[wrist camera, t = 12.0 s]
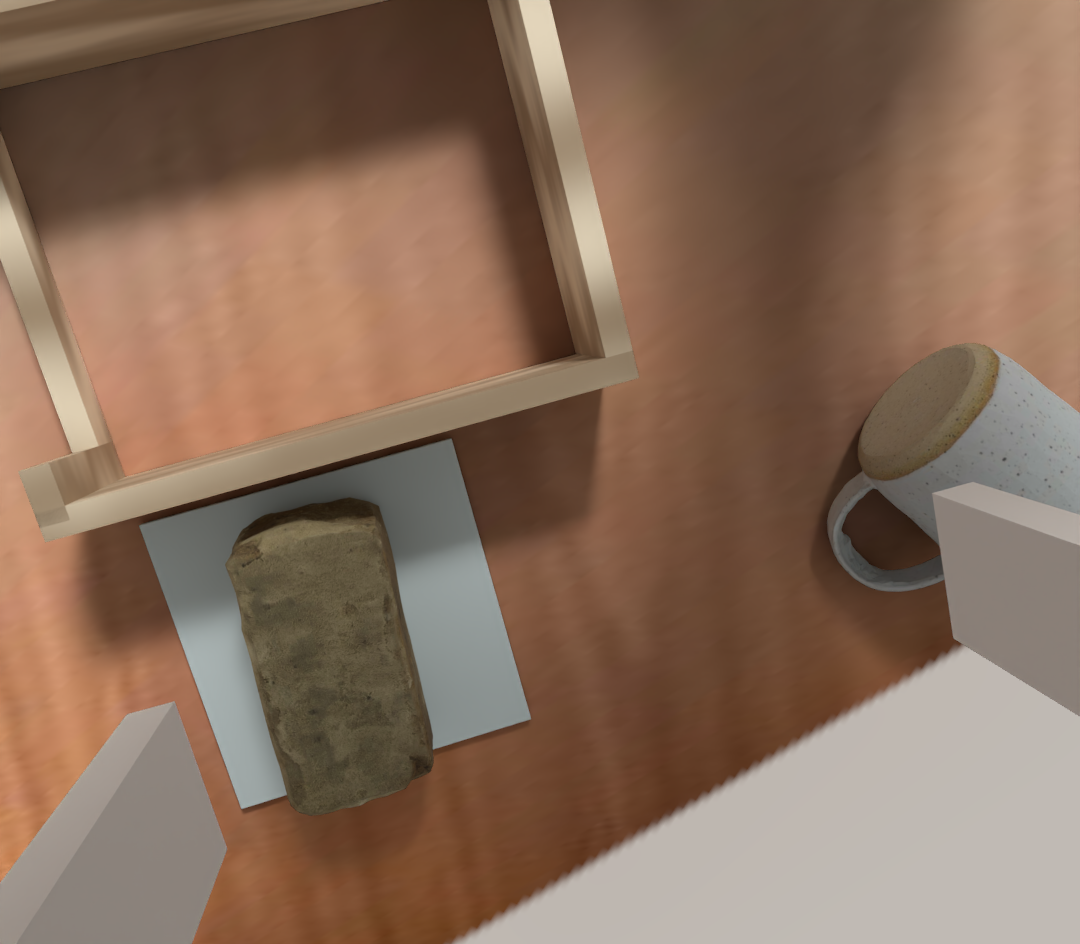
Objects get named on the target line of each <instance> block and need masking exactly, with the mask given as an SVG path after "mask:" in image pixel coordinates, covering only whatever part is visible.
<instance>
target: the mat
mask: <svg viewBox="0 0 1080 944" xmlns="http://www.w3.org/2000/svg"><path fill="white" fill-rule="evenodd" d="M349 497H350V498H355V499H360V500H364V501H369V502H371V503H373V504H376V505H378V506H379V508H380V511H381V514H382V518H383V521H384V524H385V527H386V530H387V533H388V537H389V541H390V545H391V549H392V553H393V558H394V562H395V566H396V573H397V579H398V585H399V591H400V597H401V603H402V607H403V612H404V616H405V620H406V624H407V628H408V631H409V635H410V639H411V643H412V647H413V652H414V656H415V660H416V663H417V668H418V672H419V676H420V681H421V685H422V690H423V694H424V698H425V702H426V706H427V710H428V715H429V719H430V723H431V728H432V733H433V749H436V748H440V747H443V746H446V745H449V744H453V743H456V742H459V741H462V740H465V739H469V738H472V737H475V736H478V735H482V734H485V733H488V732H491V731H494V730H498V729H501V728H504V727H507V726H510V725H514V724H517V723H520V722H523V721H527V720H530V719H531V717H530V713H529V709H528V706H527V702H526V699H525V695H524V692H523V688H522V685H521V681H520V678H519V674H518V671H517V667H516V664H515V660H514V657H513V653H512V650H511V646H510V643H509V639H508V636H507V632H506V628H505V625H504V621H503V618H502V614H501V611H500V607H499V604H498V600H497V597H496V593H495V590H494V586H493V583H492V579H491V576H490V572H489V569H488V565H487V562H486V558H485V554H484V551H483V547H482V544H481V540H480V537H479V533H478V530H477V526H476V523H475V519H474V516H473V512H472V509H471V505H470V502H469V498H468V495H467V491H466V488H465V484H464V481H463V477H462V473H461V470H460V466H459V463H458V459H457V456H456V452H455V449H454V445H453V442H452V438H449V439H445V440H441V441H438V442H434V443H431V444H427V445H423V446H420V447H416V448H413V449H409V450H405V451H402V452H398V453H395V454H391V455H387V456H384V457H380V458H377V459H373V460H369V461H366V462H362V463H359V464H355V465H351V466H348V467H344V468H341V469H337V470H333V471H330V472H326V473H323V474H319V475H315V476H312V477H308V478H305V479H301V480H297V481H294V482H290V483H287V484H283V485H279V486H276V487H272V488H269V489H265V490H261V491H258V492H254V493H251V494H247V495H243V496H240V497H236V498H233V499H229V500H225V501H222V502H218V503H215V504H211V505H207V506H204V507H200V508H197V509H193V510H189V511H186V512H182V513H179V514H175V515H171V516H168V517H164V518H161V519H157V520H153V521H150V522H146V523H143V524H141V525H139V527H140V530H141V533H142V535H143V538H144V541H145V544H146V546H147V549H148V552H149V555H150V558H151V560H152V563H153V566H154V569H155V571H156V574H157V577H158V580H159V582H160V585H161V588H162V591H163V593H164V596H165V599H166V602H167V604H168V607H169V610H170V613H171V616H172V618H173V621H174V624H175V627H176V629H177V632H178V635H179V638H180V640H181V643H182V646H183V649H184V651H185V654H186V657H187V660H188V663H189V665H190V668H191V671H192V674H193V676H194V679H195V682H196V685H197V687H198V690H199V693H200V696H201V698H202V701H203V704H204V707H205V710H206V712H207V715H208V718H209V721H210V723H211V726H212V729H213V732H214V734H215V737H216V740H217V743H218V745H219V748H220V751H221V754H222V756H223V759H224V762H225V765H226V768H227V770H228V773H229V776H230V779H231V781H232V784H233V787H234V790H235V792H236V795H237V798H238V801H239V803H240V806H241V809H243V808H247V807H250V806H253V805H256V804H259V803H263V802H266V801H269V800H272V799H276V798H279V797H282V796H285V795H287V793H286V789H285V785H284V781H283V777H282V774H281V770H280V766H279V764H278V761H277V758H276V755H275V752H274V748H273V745H272V742H271V738H270V735H269V731H268V727H267V724H266V720H265V716H264V712H263V708H262V704H261V700H260V696H259V693H258V689H257V685H256V681H255V677H254V672H253V668H252V663H251V659H250V656H249V653H248V649H247V646H246V643H245V639H244V636H243V633H242V628H241V615H240V610H239V606H238V602H237V597H236V593H235V590H234V587H233V585H232V582H231V579H230V577H229V574H228V572H227V569H226V566H225V563H226V561H227V560H228V559H229V557H230V555H231V553H232V548H233V545H234V543H235V541H236V540H237V538H238V536H239V534H240V532H241V531H242V530H243V529H244V528H246V527H247V526H249V525H250V524H251V523H252V522H253V521H255V520H256V519H258V518H260V517H261V516H263V515H266V514H270V513H277V512H282V511H288V510H292V509H295V508H298V507H302V506H305V505H308V504H312V503H327V502H332V501H335V500H339V499H343V498H349Z"/></svg>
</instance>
